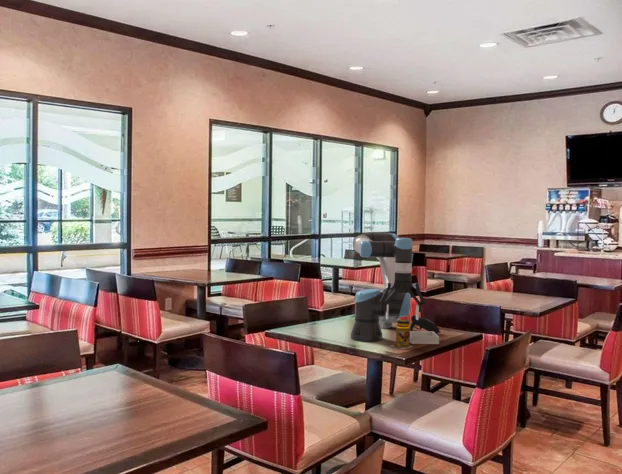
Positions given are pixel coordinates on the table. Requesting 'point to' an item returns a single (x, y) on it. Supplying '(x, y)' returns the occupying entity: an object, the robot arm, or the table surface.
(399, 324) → the condiment
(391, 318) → the circuit breaker
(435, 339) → the tray
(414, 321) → the gun
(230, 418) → the table surface
